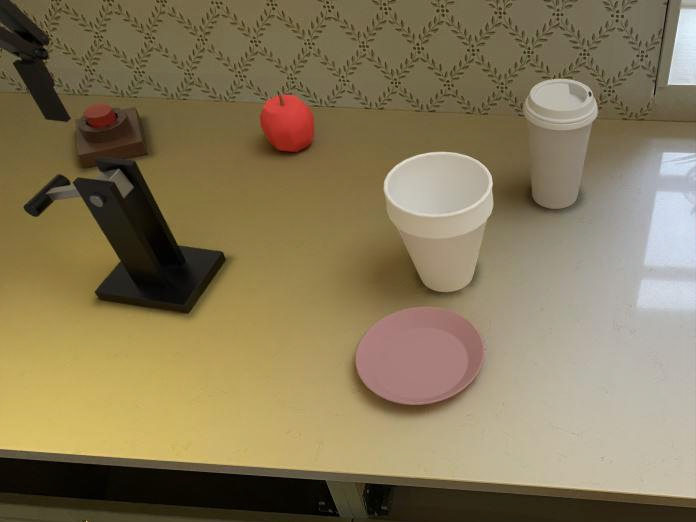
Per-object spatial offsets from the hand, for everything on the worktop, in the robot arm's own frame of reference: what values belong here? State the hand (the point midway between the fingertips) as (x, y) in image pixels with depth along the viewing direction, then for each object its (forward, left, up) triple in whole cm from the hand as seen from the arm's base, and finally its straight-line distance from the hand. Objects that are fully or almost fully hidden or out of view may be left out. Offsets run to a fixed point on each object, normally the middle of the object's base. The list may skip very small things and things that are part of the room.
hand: (20, 152), depth 71 cm
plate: (+46, -7, -17) cm, 49 cm away
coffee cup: (+56, +27, -17) cm, 64 cm away
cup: (+45, +8, -17) cm, 48 cm away
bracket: (+10, 0, -17) cm, 19 cm away
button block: (-14, +27, -17) cm, 35 cm away
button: (-14, +27, -13) cm, 33 cm away
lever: (+5, 0, -5) cm, 8 cm away
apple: (+14, +32, -17) cm, 39 cm away
